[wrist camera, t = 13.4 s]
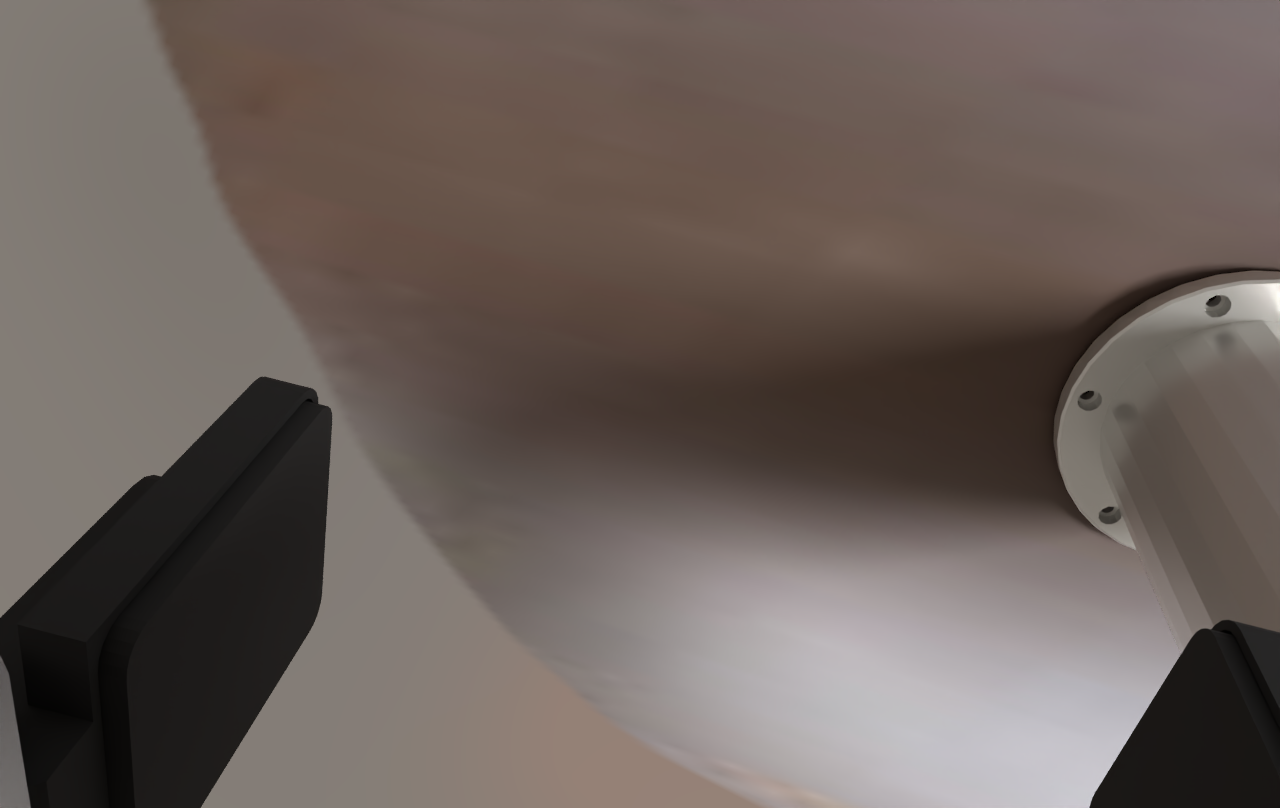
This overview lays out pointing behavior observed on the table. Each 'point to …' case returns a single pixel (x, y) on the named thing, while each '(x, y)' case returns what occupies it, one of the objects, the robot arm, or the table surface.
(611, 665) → the table surface
